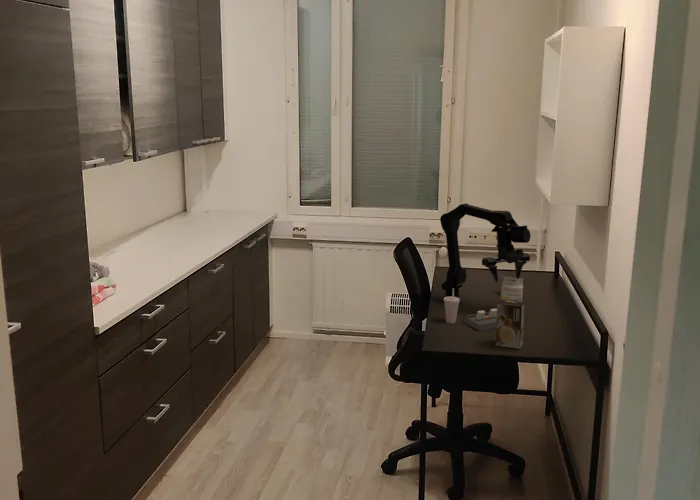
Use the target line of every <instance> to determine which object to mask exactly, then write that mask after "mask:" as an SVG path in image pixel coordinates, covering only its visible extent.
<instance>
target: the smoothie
mask: <svg viewBox="0 0 700 500" xmlns="http://www.w3.org/2000/svg"><path fill="white" fill-rule="evenodd" d="M443 299H444V302H443V303H444V313H445V322H446V323H447V324H455V323H456V322H457V316H458V315H457V314H458V310H459V304H460V303H459V302H460V301H461V299H460V297H459V298H458V297H454V288H453V294H452V296H449V297H445V296H444V298H443Z"/></svg>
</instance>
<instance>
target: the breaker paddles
mask: <svg viewBox="0 0 700 500" xmlns="http://www.w3.org/2000/svg"><path fill="white" fill-rule="evenodd" d="M485 312H486V311H485V310H483V309H482V310H478V311H476V314H477V315H476V318H475V320H481V319H487V318H493V317H497V308H490V310H489V311H488V312H489V316H485ZM484 316H485V317H484Z"/></svg>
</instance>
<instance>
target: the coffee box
mask: <svg viewBox="0 0 700 500" xmlns="http://www.w3.org/2000/svg"><path fill="white" fill-rule="evenodd" d="M525 305H526V303H525V301H522V302H520V301H512V300H503V299H501V298H500V299H499V300H498V302H497V304H496V309H497V321H496V328H495V346H496V347H504V348H511V349H517V350H521V348H522V347H523V345H524V321H525Z"/></svg>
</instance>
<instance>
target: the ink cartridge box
mask: <svg viewBox="0 0 700 500" xmlns="http://www.w3.org/2000/svg"><path fill="white" fill-rule="evenodd" d="M513 280H514V281H513ZM523 281H524V278H523V277H519V279H517V277H513V276H504V277H503V278H502V282H503V284H502V283H501V284H502V285H501V289H500V299H503V300H512V301H520V302H523V292H524V284H523Z"/></svg>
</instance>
